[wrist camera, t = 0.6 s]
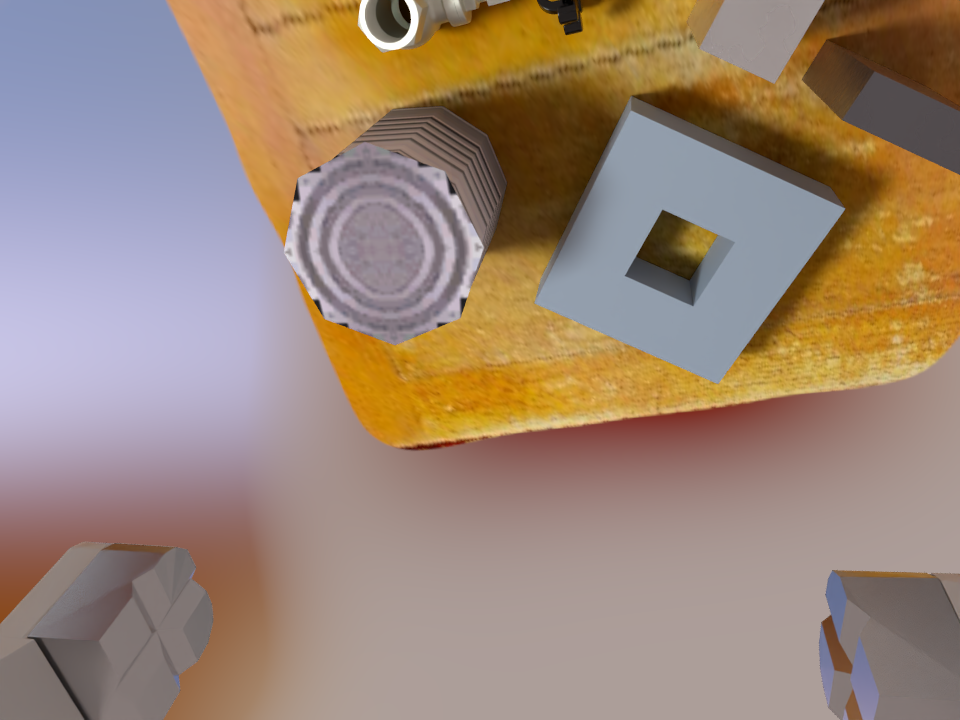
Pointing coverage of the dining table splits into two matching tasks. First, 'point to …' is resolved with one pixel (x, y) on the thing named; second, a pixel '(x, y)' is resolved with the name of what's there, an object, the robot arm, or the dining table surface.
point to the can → (398, 224)
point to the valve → (440, 19)
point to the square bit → (752, 31)
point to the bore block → (702, 201)
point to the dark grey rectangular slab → (887, 104)
